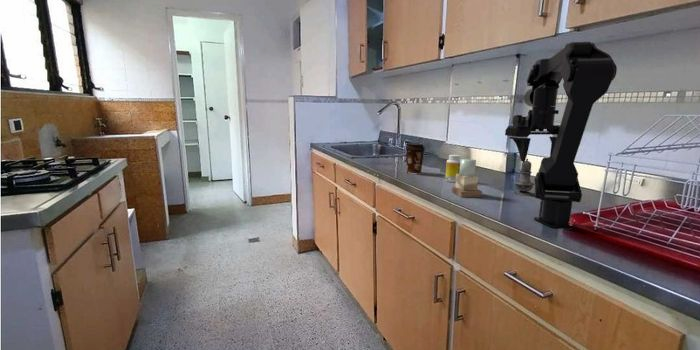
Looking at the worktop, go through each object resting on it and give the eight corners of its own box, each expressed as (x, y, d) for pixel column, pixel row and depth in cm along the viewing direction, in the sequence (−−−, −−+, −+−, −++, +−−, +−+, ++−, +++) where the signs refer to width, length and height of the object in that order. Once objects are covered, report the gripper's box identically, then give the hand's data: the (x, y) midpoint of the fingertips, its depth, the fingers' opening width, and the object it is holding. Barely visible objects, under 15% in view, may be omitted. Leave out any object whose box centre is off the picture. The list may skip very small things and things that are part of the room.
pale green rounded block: (477, 176, 108) (478, 160, 108) (463, 176, 108) (465, 160, 107) (469, 173, 113) (471, 159, 112) (456, 173, 112) (457, 158, 111)
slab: (481, 198, 108) (481, 191, 108) (460, 199, 107) (461, 191, 107) (470, 193, 115) (471, 186, 115) (451, 193, 114) (451, 186, 114)
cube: (477, 189, 109) (478, 176, 108) (463, 190, 108) (464, 176, 107) (468, 186, 114) (469, 173, 113) (455, 187, 113) (456, 173, 112)
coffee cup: (400, 171, 151) (401, 143, 148) (415, 170, 154) (416, 142, 152) (411, 175, 143) (412, 144, 140) (427, 174, 146) (429, 144, 144)
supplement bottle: (459, 182, 129) (461, 156, 127) (444, 181, 131) (446, 155, 129) (460, 180, 134) (462, 154, 132) (446, 179, 136) (448, 153, 134)
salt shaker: (535, 196, 110) (539, 159, 107) (516, 195, 111) (520, 159, 109) (529, 192, 115) (533, 157, 113) (511, 191, 116) (515, 156, 114)
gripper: (553, 107, 103) (547, 157, 106) (496, 106, 101) (492, 157, 104) (582, 106, 92) (574, 162, 95) (520, 105, 90) (514, 163, 93)
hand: (537, 161), depth 97 cm, fingers open, 9 cm apart
